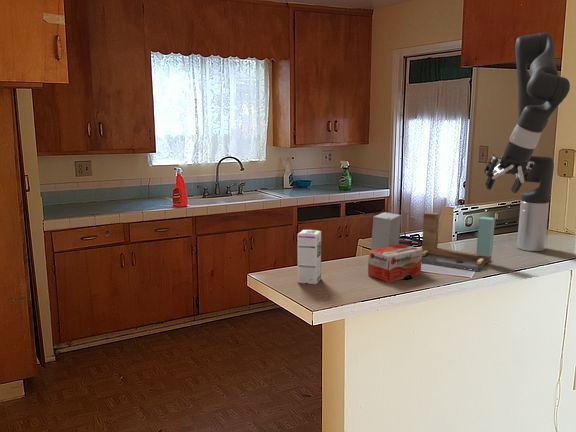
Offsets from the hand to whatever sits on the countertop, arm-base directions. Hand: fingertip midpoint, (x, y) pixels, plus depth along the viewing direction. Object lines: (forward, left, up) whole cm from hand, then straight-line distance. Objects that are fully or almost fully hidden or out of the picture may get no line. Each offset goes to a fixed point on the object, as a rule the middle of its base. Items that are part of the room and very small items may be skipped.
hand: (500, 190), depth 165 cm
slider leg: (-2, -4, -23) cm, 24 cm away
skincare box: (+13, -31, -25) cm, 42 cm away
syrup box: (+44, -41, -25) cm, 65 cm away
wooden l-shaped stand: (-2, -13, -24) cm, 27 cm away
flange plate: (-2, -14, -25) cm, 29 cm away
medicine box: (+24, -23, -25) cm, 42 cm away
